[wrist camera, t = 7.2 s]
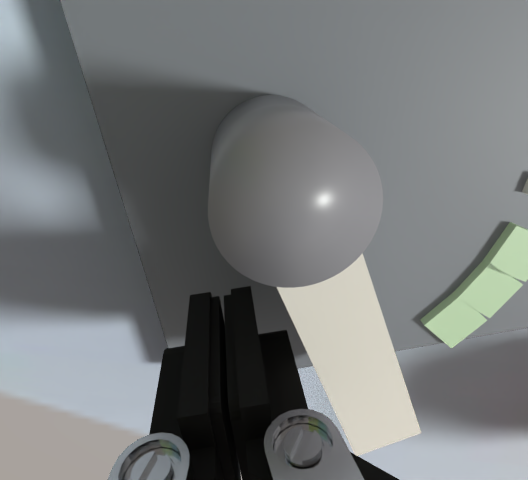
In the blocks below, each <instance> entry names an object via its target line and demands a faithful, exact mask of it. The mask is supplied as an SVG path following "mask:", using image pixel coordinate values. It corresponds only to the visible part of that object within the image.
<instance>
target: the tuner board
mask: <svg viewBox="0 0 528 480" xmlns="http://www.w3.org/2000/svg"><path fill="white" fill-rule="evenodd" d="M60 2H61V5H62V8H63V12H64V15H65V18H66V21H67V24H68V28H69V31H70V34H71V37H72V40H73V44H74V47H75V50H76V53H77V57H78V60H79V63H80V66H81V69H82V73H83V76H84V79H85V82H86V85H87V89H88V92H89V95H90V98H91V101H92V105H93V108H94V111H95V114H96V117H97V121H98V124H99V127H100V130H101V134H102V137H103V140H104V143H105V146H106V150H107V153H108V156H109V159H110V162H111V166H112V169H113V172H114V175H115V178H116V182H117V185H118V188H119V191H120V194H121V198H122V201H123V204H124V207H125V210H126V214H127V217H128V220H129V223H130V227H131V230H132V233H133V236H134V239H135V243H136V246H137V249H138V252H139V255H140V259H141V262H142V265H143V268H144V271H145V275H146V278H147V281H148V284H149V287H150V291H151V294H152V297H153V300H154V304H155V307H156V310H157V313H158V316H159V320H160V323H161V326H162V329H163V332H164V336H165V339H166V342H167V345H168V348H173V347H180V346H185V337H186V327H187V318H188V308H189V299H190V295H193V294H200V293H207V292H211V294H212V297H216V296H219V297H220V301H221V307H222V312H223V318H224V295H230V294H231V289H234V288H241V287H247V286H251V291H252V298H253V304H254V310H255V316H256V323H257V329H258V334H263V333H269V332H275V331H282V330H287V333H288V336H289V340H290V343H291V347H292V351H293V355H294V358H295V362H296V366H297V369H299V368H304V367H310V366H313V364H312V362H311V360H310V358H309V355H308V353H307V351H306V349H305V347H304V345H303V343H302V340H301V338H300V336H299V334H298V332H297V330H296V328H295V326H294V323H293V321H292V319H291V317H290V315H289V313H288V311H287V308H286V306H285V304H284V302H283V300H282V298H281V296H280V294H279V291H278V289H277V287H274V286H269V285H265V284H262V283H259V282H256V281H254V280H252V279H250V278H248V277H246V276H244V275H243V274H241V273H240V272H238V271H237V270H236V269H234V268H233V267H232V266H231V265H230V264H229V263H228V262H227V261H226V259H225V258H224V257H223V256H222V255H221V253H220V251H219V250H218V248H217V246H216V244H215V242H214V240H213V237H212V234H211V231H210V227H209V220H208V198H209V182H210V166H211V150H212V144H213V140H214V136H215V133H216V131H217V129H218V127H219V125H220V124H221V122H222V120H223V119H224V118H225V117H226V116H227V114H228V113H229V112H230V111H232V110H233V109H234V108H235V107H236V106H238V105H239V104H241V103H243V102H245V101H247V100H249V99H252V98H254V97H258V96H263V95H280V96H285V97H289V98H291V99H294V100H296V101H298V102H300V103H302V104H303V105H305V106H306V107H308V108H309V109H311V110H312V111H314V112H315V113H317V114H318V115H320V116H321V117H322V118H324V119H325V120H327V121H328V122H330V123H331V124H333V125H334V126H336V127H337V128H339V129H340V130H342V131H343V132H345V133H346V134H347V135H349V136H350V137H352V138H353V139H354V140H356V141H357V142H358V143H359V144H360V145H361V146H362V147H363V148H364V149H365V150H366V151H367V153H368V154H369V156H370V157H371V158H372V160H373V162H374V164H375V166H376V168H377V170H378V173H379V176H380V179H381V184H382V189H383V208H382V214H381V218H380V222H379V225H378V228H377V231H376V233H375V235H374V237H373V239H372V241H371V242H370V244H369V245H368V247H367V248H366V249H365V251H364V252H363V256H364V259H365V262H366V265H367V268H368V271H369V274H370V277H371V281H372V284H373V287H374V290H375V293H376V296H377V299H378V302H379V305H380V308H381V311H382V314H383V317H384V320H385V323H386V326H387V329H388V332H389V336H390V339H391V342H392V345H393V348H394V351H400V350H406V349H411V348H417V347H423V346H428V345H434V344H440V343H446V344H447V345H448V346H449V347H450V348H453V347H454V346H456V345H457V344H458V343H459V342H461V341H462V340H463V339H468V338H473V337H479V336H485V335H490V334H496V333H502V332H507V331H513V330H518V329H524V328H528V0H60ZM224 323H225V319H224Z"/></svg>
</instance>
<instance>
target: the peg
mask: <svg viewBox="0 0 528 480" xmlns="http://www.w3.org/2000/svg"><path fill="white" fill-rule="evenodd" d="M382 208H383V189H382V184H381V179H380V176H379V173H378V170H377V168H376V166H375V164H374V162H373V160H372V158H371V157H370V156H369V154H368V153H367V151H366V150H365V149H364V148H363V147H362V146H361V145H360V144H359V143H358V142H357V141H356V140H354V139H353V138H352V137H350V136H349V135H347V134H346V133H345V132H343V131H342V130H340V129H339V128H337V127H336V126H334V125H333V124H331V123H330V122H328V121H327V120H325V119H324V118H322V117H321V116H320V115H318V114H317V113H315V112H314V111H312V110H311V109H309V108H308V107H306V106H305V105H303V104H302V103H300V102H298V101H296V100H294V99H291V98H289V97H285V96H280V95H263V96H258V97H254V98H252V99H249V100H247V101H245V102H243V103H241V104H239V105H238V106H236V107H235V108H234V109H233V110H232V111H230V112H229V113H228V114H227V116H226V117H225V118H224V119H223V120H222V122H221V124H220V125H219V127H218V129H217V131H216V133H215V136H214V140H213V144H212V150H211V166H210V182H209V198H208V220H209V227H210V231H211V234H212V237H213V240H214V242H215V244H216V246H217V248H218V250H219V251H220V253H221V255H222V256H223V257H224V258H225V259H226V261H227V262H228V263H229V264H230V265H231V266H232V267H233V268H234V269H236V270H237V271H238V272H240V273H241V274H243V275H244V276H246V277H248V278H250V279H252V280H254V281H256V282H259V283H262V284H265V285H269V286H274V287H277V289H278V291H279V294H280V296H281V298H282V300H283V302H284V304H285V306H286V308H287V311H288V313H289V315H290V317H291V319H292V321H293V323H294V326H295V328H296V330H297V332H298V334H299V336H300V338H301V340H302V343H303V345H304V347H305V349H306V351H307V353H308V355H309V358H310V360H311V362H312V364H313V366H314V368H315V370H316V372H317V375H318V377H319V379H320V381H321V383H322V385H323V387H324V390H325V392H326V394H327V396H328V398H329V400H330V402H331V404H332V407H333V409H334V411H335V413H336V415H337V417H338V419H339V422H340V424H341V426H342V428H343V430H344V432H345V434H346V437H347V439H348V441H349V443H350V445H351V447H352V449H353V451H354V454H355V455H356V456H359V455H362V454H364V453H367V452H370V451H373V450H376V449H378V448H381V447H384V446H387V445H390V444H392V443H395V442H398V441H401V440H404V439H406V438H409V437H412V436H415V435H418V434H420V433H421V430H420V427H419V424H418V421H417V418H416V415H415V412H414V409H413V406H412V403H411V400H410V397H409V394H408V390H407V387H406V384H405V381H404V378H403V375H402V372H401V369H400V366H399V363H398V360H397V357H396V354H395V351H394V348H393V345H392V342H391V339H390V336H389V332H388V329H387V326H386V323H385V320H384V317H383V314H382V311H381V308H380V305H379V302H378V299H377V296H376V293H375V290H374V287H373V284H372V281H371V277H370V274H369V271H368V268H367V265H366V262H365V259H364V256H363V252H364V251H365V249H366V248H367V247H368V245H369V244H370V242H371V241H372V239H373V237H374V235H375V233H376V231H377V228H378V225H379V222H380V218H381V214H382Z"/></svg>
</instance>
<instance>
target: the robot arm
mask: <svg viewBox="0 0 528 480" xmlns="http://www.w3.org/2000/svg"><path fill="white" fill-rule="evenodd" d="M224 319H225V323H224ZM240 470H241V474H240ZM240 475H242V480H399V479H397V478H395V477H393V476H392V475H390V474H388V473H386V472H385V471H383V470H381V469H379V468H377V467H376V466H374V465H372V464H370V463H369V462H367V461H365V460H363V459H362V458H360V457H358V456H356V455H354V454H353V453H351V452H350V451H349V449H348V447H347V446H346V444H345V442H344V440H343V438H342V436H341V434H340V432H339V430H338V428H337V427H336V426H335V424H334V423H333V422H332V420H330V419H329V418H328V417H326V416H325V415H324V414H322V413H319V412H317V411H314V410H309V409H308V407H307V403H306V400H305V396H304V392H303V388H302V385H301V381H300V377H299V373H298V370H297V366H296V362H295V358H294V355H293V351H292V347H291V343H290V340H289V336H288V333H287V330H282V331H275V332H269V333H263V334H258V329H257V323H256V316H255V310H254V304H253V298H252V291H251V286H247V287H241V288H234V289H231V294H230V295H224V318H223V312H222V307H221V301H220V297H219V296H216V297H212V294H211V292H207V293H200V294H193V295H190V299H189V308H188V318H187V327H186V337H185V346H180V347H173V348H167V349H165V350H164V354H163V359H162V365H161V371H160V376H159V382H158V388H157V394H156V399H155V405H154V411H153V417H152V423H151V428H150V434H149V435H147V436H145V437H142V438H140V439H138V440H137V441H135V442H134V443H132V444H131V445H130V446H128V447H127V448H126V449H125V450H124V451H123V453H122V454H121V455H120V456H119V457H118V459H117V461H116V462H115V464H114V466H113V468H112V470H111V473H110V475H109V478H108V480H241V476H240Z"/></svg>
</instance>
